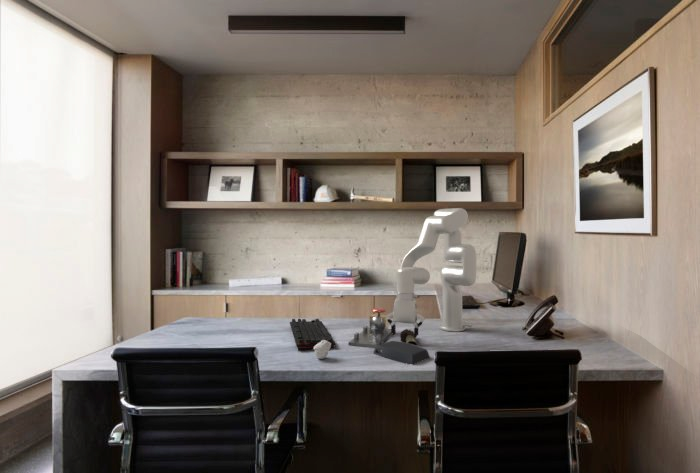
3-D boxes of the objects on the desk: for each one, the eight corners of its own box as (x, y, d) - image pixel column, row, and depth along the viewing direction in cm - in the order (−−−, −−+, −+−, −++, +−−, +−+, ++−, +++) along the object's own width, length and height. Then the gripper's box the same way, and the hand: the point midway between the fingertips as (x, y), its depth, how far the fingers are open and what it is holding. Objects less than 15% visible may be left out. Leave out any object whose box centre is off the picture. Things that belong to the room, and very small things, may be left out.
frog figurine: (333, 359, 151) (333, 341, 151) (315, 362, 149) (315, 343, 149) (328, 355, 157) (328, 337, 157) (311, 357, 155) (311, 339, 155)
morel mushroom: (418, 351, 165) (418, 337, 165) (401, 351, 165) (401, 337, 165) (414, 339, 182) (414, 327, 182) (399, 339, 183) (399, 327, 183)
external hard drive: (392, 348, 168) (392, 338, 168) (431, 358, 154) (431, 348, 154) (371, 355, 159) (371, 344, 158) (410, 366, 145) (410, 355, 145)
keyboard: (335, 349, 166) (335, 338, 166) (296, 352, 162) (296, 340, 162) (321, 326, 207) (321, 316, 207) (289, 328, 204) (289, 318, 204)
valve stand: (393, 331, 193) (393, 308, 193) (377, 347, 166) (377, 321, 166) (368, 329, 198) (368, 307, 198) (348, 345, 171) (348, 319, 171)
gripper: (426, 296, 174) (425, 335, 174) (388, 294, 180) (387, 331, 180) (423, 299, 167) (423, 339, 167) (383, 296, 173) (383, 335, 173)
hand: (404, 335), depth 174 cm, fingers open, 9 cm apart
